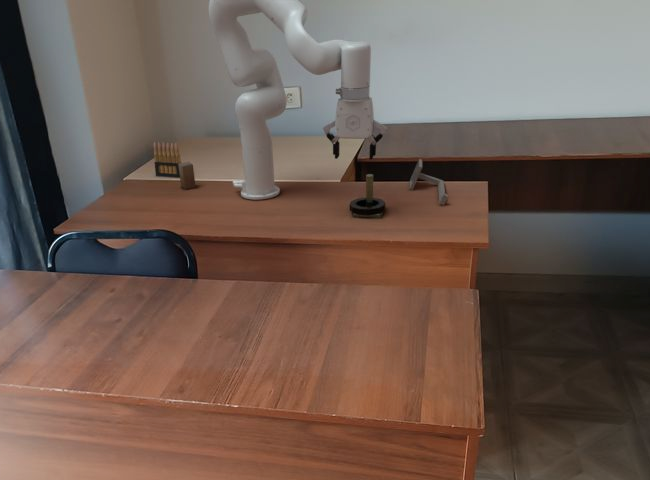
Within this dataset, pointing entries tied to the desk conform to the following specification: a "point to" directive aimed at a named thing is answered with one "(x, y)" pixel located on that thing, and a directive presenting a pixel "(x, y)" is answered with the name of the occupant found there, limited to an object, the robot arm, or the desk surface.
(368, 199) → the post
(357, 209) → the black ring
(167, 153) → the ammunition clip
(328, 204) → the desk surface
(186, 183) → the wooden block
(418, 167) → the toilet paper hanger
